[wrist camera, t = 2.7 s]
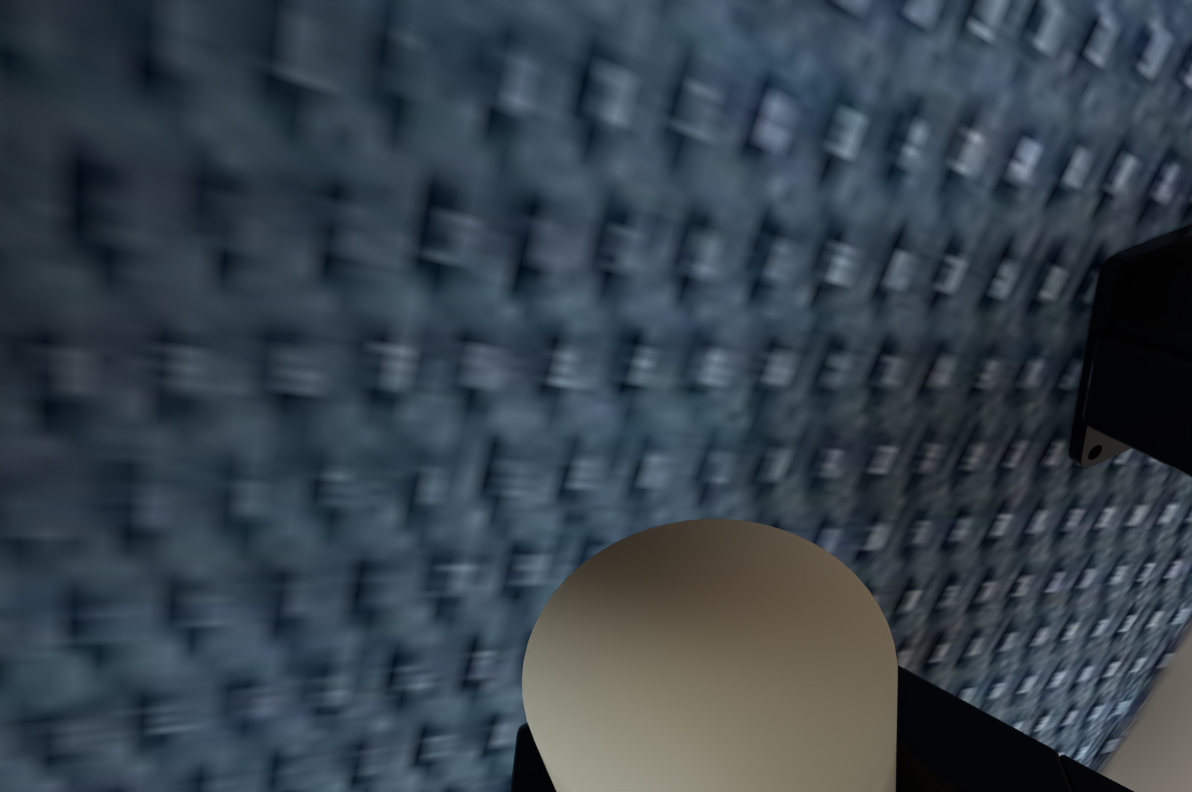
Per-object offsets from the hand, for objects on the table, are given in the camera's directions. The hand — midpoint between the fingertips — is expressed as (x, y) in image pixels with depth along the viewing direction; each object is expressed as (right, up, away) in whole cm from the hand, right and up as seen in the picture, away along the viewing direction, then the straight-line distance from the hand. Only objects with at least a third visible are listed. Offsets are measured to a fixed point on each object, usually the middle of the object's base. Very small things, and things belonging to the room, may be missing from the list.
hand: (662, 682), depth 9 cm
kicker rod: (-1, -2, +7) cm, 7 cm away
